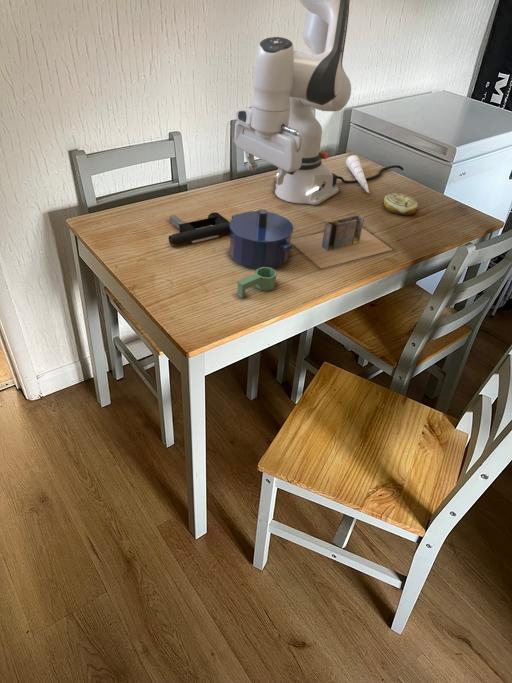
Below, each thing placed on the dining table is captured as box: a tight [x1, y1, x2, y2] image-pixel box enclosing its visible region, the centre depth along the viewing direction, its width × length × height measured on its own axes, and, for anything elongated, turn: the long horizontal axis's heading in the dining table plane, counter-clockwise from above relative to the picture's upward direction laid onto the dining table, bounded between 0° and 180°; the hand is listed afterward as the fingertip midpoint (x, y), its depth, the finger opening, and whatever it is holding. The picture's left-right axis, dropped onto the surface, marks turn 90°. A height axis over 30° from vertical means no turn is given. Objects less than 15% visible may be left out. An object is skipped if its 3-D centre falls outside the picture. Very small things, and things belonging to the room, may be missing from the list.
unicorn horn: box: [345, 154, 370, 194], centre depth 188 cm, size 5×24×5 cm, turn 3°
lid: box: [229, 208, 294, 244], centre depth 140 cm, size 17×17×5 cm
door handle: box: [168, 211, 231, 246], centre depth 153 cm, size 3×20×16 cm
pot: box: [229, 213, 294, 270], centre depth 144 cm, size 16×21×8 cm
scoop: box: [237, 267, 277, 299], centre depth 132 cm, size 11×5×4 cm, turn 132°
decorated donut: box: [382, 192, 419, 216], centre depth 172 cm, size 10×11×4 cm
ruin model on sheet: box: [290, 214, 393, 269], centre depth 150 cm, size 25×16×10 cm, turn 120°
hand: (265, 177), depth 132 cm, fingers open, 8 cm apart
